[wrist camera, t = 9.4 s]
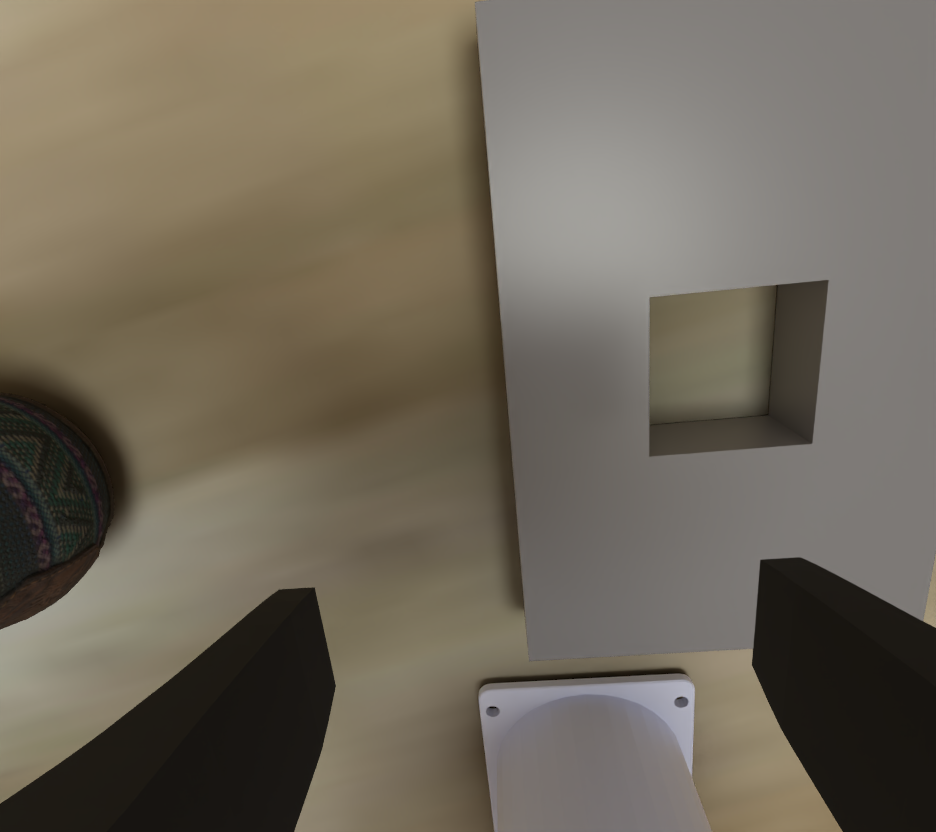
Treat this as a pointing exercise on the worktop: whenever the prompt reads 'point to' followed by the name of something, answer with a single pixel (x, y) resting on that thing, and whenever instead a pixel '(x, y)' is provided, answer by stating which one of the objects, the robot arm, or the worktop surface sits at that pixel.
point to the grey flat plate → (711, 269)
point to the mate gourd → (46, 507)
